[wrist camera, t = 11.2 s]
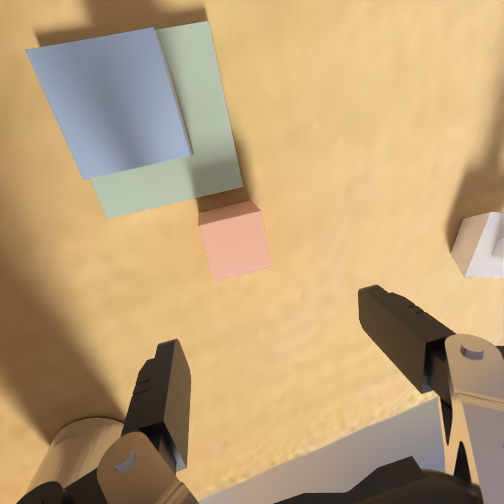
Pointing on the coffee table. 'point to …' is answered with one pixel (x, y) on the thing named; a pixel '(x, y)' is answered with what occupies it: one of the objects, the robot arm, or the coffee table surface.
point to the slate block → (113, 101)
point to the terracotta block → (234, 240)
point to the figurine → (480, 246)
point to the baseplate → (199, 129)
